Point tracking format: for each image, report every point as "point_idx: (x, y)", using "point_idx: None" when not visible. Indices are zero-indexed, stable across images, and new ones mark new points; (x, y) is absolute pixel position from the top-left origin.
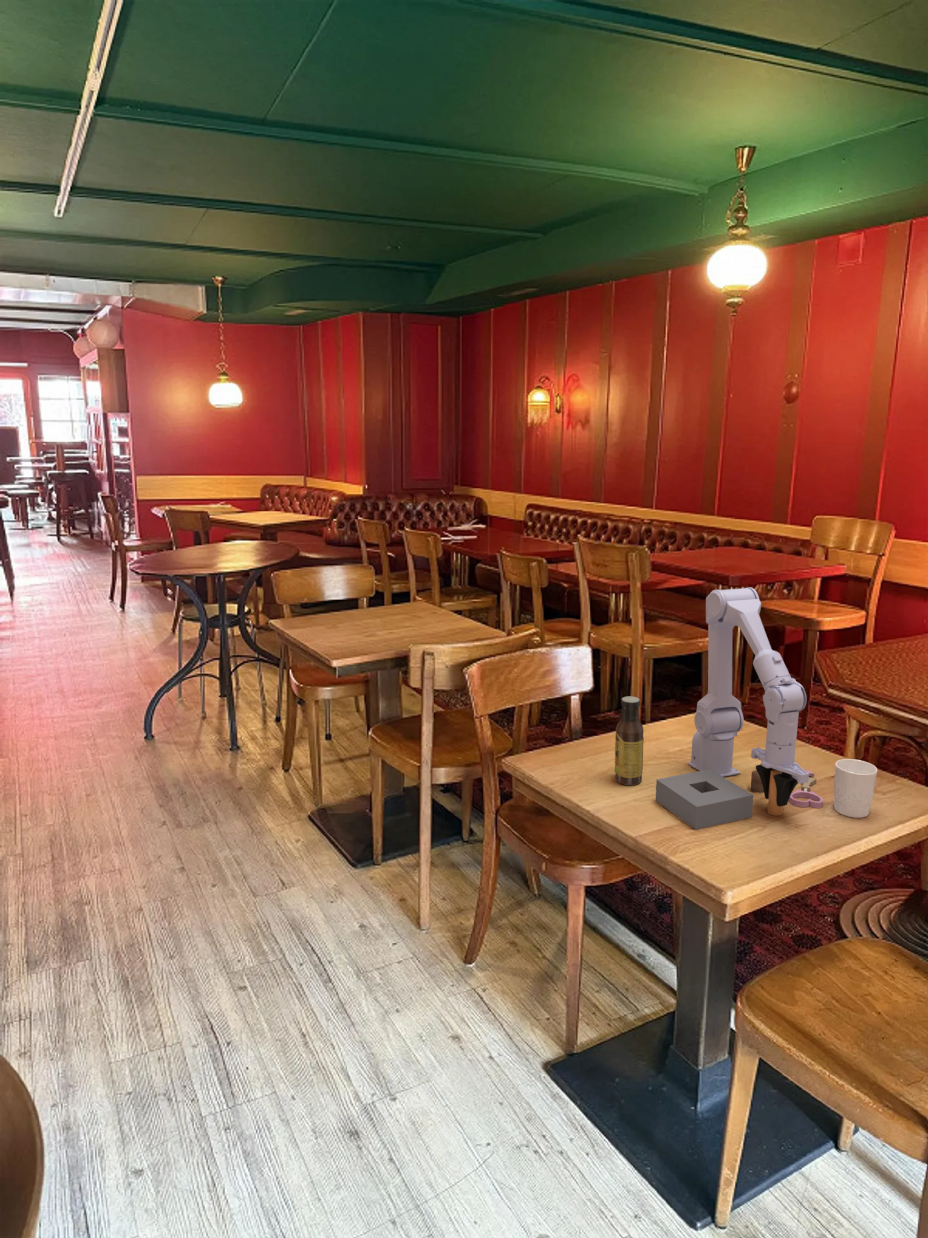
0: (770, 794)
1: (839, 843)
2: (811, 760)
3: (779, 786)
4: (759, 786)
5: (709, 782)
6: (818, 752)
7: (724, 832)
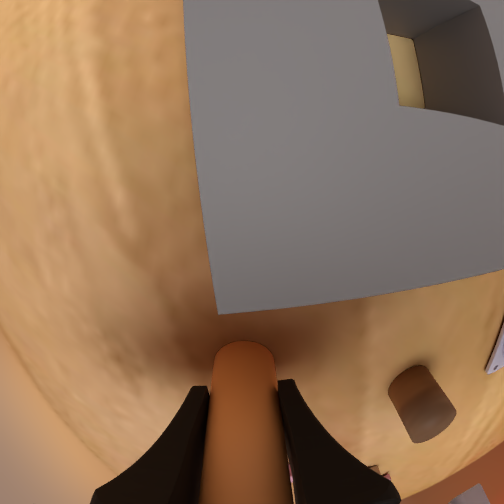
0: (242, 408)
1: (39, 383)
2: (412, 484)
3: (142, 471)
4: (403, 396)
5: (494, 131)
6: (420, 490)
7: (134, 45)
